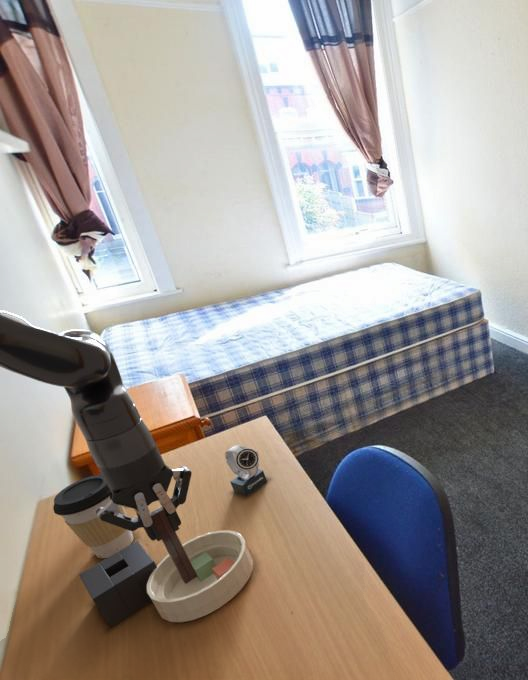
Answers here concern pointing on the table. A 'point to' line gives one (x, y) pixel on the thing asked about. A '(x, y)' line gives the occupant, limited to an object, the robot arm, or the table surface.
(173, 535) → the chopsticks
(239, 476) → the watch
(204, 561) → the sage block
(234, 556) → the bowl
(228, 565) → the terracotta block
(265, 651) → the table surface
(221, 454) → the table surface
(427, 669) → the table surface
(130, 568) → the stand
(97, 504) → the coffee cup
